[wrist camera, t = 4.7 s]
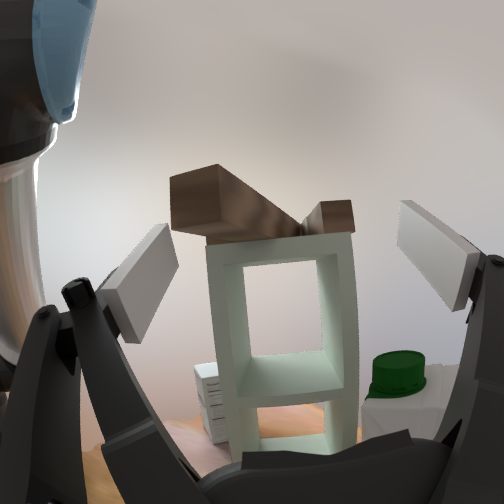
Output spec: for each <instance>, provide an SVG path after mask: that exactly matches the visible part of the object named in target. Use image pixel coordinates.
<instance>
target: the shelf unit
mask: <svg viewBox="0 0 504 504" xmlns="http://www.w3.org/2000/svg"><path fill="white" fill-rule="evenodd" d="M205 249H206V261H207V272H208V283H209V294H210V304H211V315H212V324H213V332H214V341H215V350H216V358H217V366H218V374H219V381H220V389H221V396H222V403H223V409H224V416H225V422H226V429H227V435H228V441H229V447H230V453H231V459H232V463H236V462H240V461H242V452H254V451H280V450H287V451H294V452H302V453H311V454H321V455H331V454H335V453H337V452H340V451H342V450H345V449H347V448H350V447H352V446H354V445H356V442H357V427H358V408H359V329H358V308H357V293H356V280H355V270H354V259H353V249H352V241H351V232H339V233H329V234H318V235H308V236H297V237H287V238H277V239H267V240H257V241H247V242H238V243H228V244H218V245H209V246H205ZM309 260H316V265H317V275H318V287H319V299H320V312H321V328H322V345H323V350H315V351H307V352H297V353H287V354H275V355H263V356H251V348H250V338H249V327H248V317H247V307H246V296H245V285H244V274H243V267H247V266H258V265H268V264H279V263H289V262H299V261H309ZM317 402H324V433H321V434H313V435H304V436H294V437H282V438H264V439H260V435H259V425H258V416H257V408H259V407H276V406H289V405H300V404H309V403H317Z"/></svg>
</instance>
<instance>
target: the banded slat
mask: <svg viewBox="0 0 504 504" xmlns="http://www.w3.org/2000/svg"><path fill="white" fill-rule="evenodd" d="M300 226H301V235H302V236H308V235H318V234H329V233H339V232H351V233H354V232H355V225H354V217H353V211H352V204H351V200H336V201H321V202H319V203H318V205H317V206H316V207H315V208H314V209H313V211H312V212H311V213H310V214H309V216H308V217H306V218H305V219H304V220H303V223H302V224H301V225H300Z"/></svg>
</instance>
